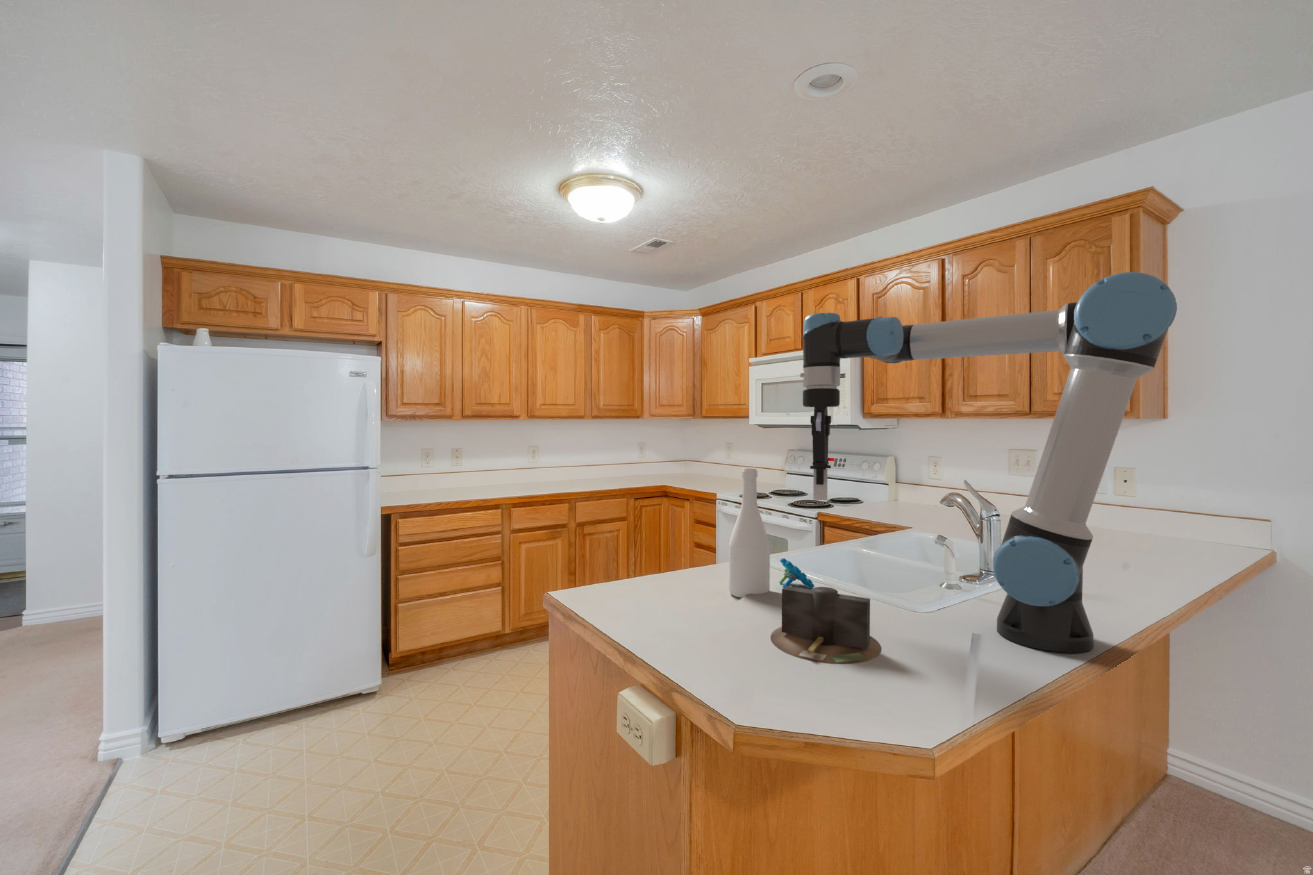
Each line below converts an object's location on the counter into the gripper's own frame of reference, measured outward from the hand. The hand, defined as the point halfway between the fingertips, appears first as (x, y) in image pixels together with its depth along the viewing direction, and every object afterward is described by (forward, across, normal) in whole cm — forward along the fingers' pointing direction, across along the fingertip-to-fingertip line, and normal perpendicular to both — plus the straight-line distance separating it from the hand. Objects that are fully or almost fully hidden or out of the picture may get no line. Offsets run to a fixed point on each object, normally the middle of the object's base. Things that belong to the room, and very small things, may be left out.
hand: (820, 499), depth 121 cm
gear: (+25, -17, -7) cm, 31 cm away
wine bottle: (+25, -8, -17) cm, 31 cm away
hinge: (+23, +23, +2) cm, 32 cm away
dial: (+24, +20, +3) cm, 31 cm away
